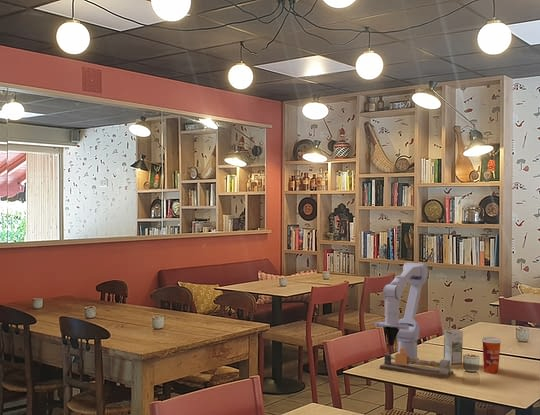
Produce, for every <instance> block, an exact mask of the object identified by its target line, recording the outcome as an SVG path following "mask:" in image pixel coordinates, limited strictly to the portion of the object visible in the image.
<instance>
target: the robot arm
mask: <svg viewBox="0 0 540 415" xmlns="http://www.w3.org/2000/svg"><path fill="white" fill-rule="evenodd" d="M428 273H429V270H428V265H427V263H425V262H424V263H421V262H417V263H416V262H408V261H406V262H404V264H403V267H402V272H401V274H400V275H396V277H394V279H392V280H391V282H390V283H389V284H385V285H384V287H383V290H382V294H383V301H384V303H385V305H384V306H385V309H384V321H374V327H379V328H384V329H383V332H384V333H385V335H386V339H387V341H388V346H394V345H395V341H396V340H397V341H398V349H397V350H398V351H397V352H398V353H400V349H401V348H405V354H410V358H411V359H418V360H420V358H418V343H417V342H418V340H419V338H420V331H421V330H420V329H421V326H420V324H419V322H418V321H417V320H416V316H417V312H418V307H419V302H420V297H421V292H422V289H423V288H422V287H423V285H424V284H426V281H427V278H428V275H429V274H428ZM408 284H410V287H409V292H408V295H407V296H408V298H407V301H406V306H405V312H404V316H403V317H402V318H400V317H399V316H400V299H401V298H402V293H403V290H405V288H406V287H407V286H408ZM399 318H400V319H399ZM413 363H414V362H410V364H413Z"/></svg>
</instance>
